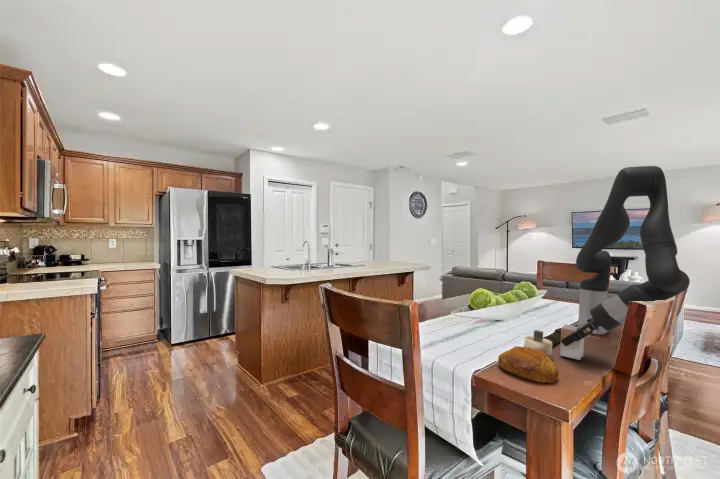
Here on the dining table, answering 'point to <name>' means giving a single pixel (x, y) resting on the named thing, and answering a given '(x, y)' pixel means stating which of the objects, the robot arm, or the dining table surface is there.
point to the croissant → (529, 364)
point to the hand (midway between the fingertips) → (565, 341)
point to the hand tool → (555, 337)
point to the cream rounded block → (539, 343)
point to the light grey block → (573, 349)
